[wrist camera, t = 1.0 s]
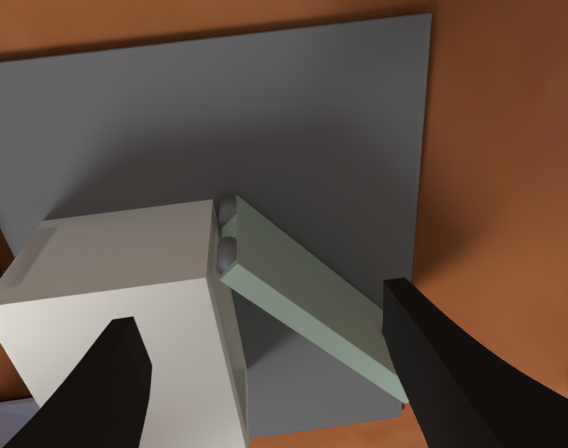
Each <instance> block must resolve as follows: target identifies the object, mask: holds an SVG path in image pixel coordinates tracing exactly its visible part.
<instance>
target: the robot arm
mask: <svg viewBox="0 0 568 448" xmlns="http://www.w3.org/2000/svg"><path fill="white" fill-rule="evenodd" d="M383 335H384V338H385V341H386V345H387V348H388V351H389V355H390V358H391V361H392V364H393V366H394V369H395V371H396V373H397V375H398V378H399V380H400V382H401V385H402V387H403V389H404V391H405V394H406V396H407V398H408V400H409V403H410V405H411V407H412V409H413V412H414V414H415V416H416V418H417V421H418V423H419V425H420V428H421V430H422V432H423V434H424V437H425V439H426V442H427V444H428V447H429V448H568V399H567V398H565V397H563V396H562V395H560V394H558V393H556V392H555V391H553V390H551V389H549V388H548V387H546V386H544V385H542V384H541V383H539V382H537V381H535V380H534V379H532V378H530V377H529V376H527V375H525V374H524V373H522V372H521V371H519V370H518V369H516V368H514V367H513V366H511V365H510V364H508V363H507V362H505V361H504V360H502V359H501V358H499V357H498V356H497V355H495V354H494V353H492V352H491V351H490V350H488V349H487V348H486V347H484V346H483V345H482V344H480V343H479V342H478V341H476V340H475V339H474V338H473V337H471V336H470V335H469V334H468V333H466V332H465V331H464V330H463V329H461V328H460V327H459V326H458V325H457V324H456V323H454V322H453V321H452V320H451V319H450V318H448V317H447V316H446V315H445V314H444V313H443V312H442V311H440V310H439V309H438V308H437V307H436V306H435V305H434V304H433V303H432V302H431V301H429V300H428V299H427V298H426V297H425V296H424V295H423V294H422V293H421V292H420V291H419V290H418V289H417V288H416V287H415V286H414V285H413V284H412V283H411V282H409V281H408V280H407V279H406V278H405V277H402V278H395V279H388V280H383ZM151 378H152V363H151V360H150V358H149V355H148V352H147V350H146V347H145V345H144V342H143V340H142V337H141V334H140V332H139V329H138V327H137V324H136V322H135V319H134V316H132V317H125V318H118V319H112V320H111V321H110V323H109V324H108V325H107V326H106V328H105V329H104V330H103V331H102V333H101V334H100V335H99V337H98V338H97V339H96V341H95V342H94V343H93V345H92V346H91V347H90V348H89V350H88V351H87V352H86V354H85V355H84V356H83V358H82V359H81V360H80V361H79V363H78V364H77V365H76V366H75V368H74V369H73V370H72V371H71V373H70V374H69V375H68V376H67V378H66V379H65V380H64V381H63V383H62V384H61V385H60V386H59V387H58V388H57V390H56V391H55V392H54V393H53V394H52V395H51V397H50V398H49V399H48V400H47V401H46V402H45V403H44V405H43V406H42V407H41V408H40V407H39V406H38V404H37V402H36V401H35V399H34V398H28V399H21V400H14V401H6V402H0V448H139V445H140V440H141V436H142V432H143V427H144V423H145V418H146V413H147V409H148V404H149V398H150V389H151Z"/></svg>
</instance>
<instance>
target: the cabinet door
mask: <svg viewBox="0 0 568 448" xmlns="http://www.w3.org/2000/svg"><path fill="white" fill-rule="evenodd" d="M219 223H220V225H221V226H222V237H221V240H220V241H219V242H218V246H217V263H216V269H217V271H218V273H219V274H220V281H221V282H223V283H224V284H226V285H227V286H229V287H230V288H232V289H233V290H235V291H236V292H238V293H239V294H241V295H242V296H244V297H245V298H247V299H248V300H250V301H251V302H253V303H254V304H256V305H257V306H259V307H260V308H262V309H263V310H265V311H266V312H268V313H269V314H271V315H272V316H274V317H275V318H277V319H278V320H280V321H281V322H283V323H284V324H286V325H287V326H289V327H290V328H292V329H293V330H295V331H296V332H298V333H299V334H301V335H302V336H304V337H305V338H307V339H308V340H310V341H311V342H313V343H314V344H316V345H317V346H319V347H320V348H322V349H323V350H325V351H326V352H328V353H329V354H331V355H332V356H334V357H335V358H337V359H338V360H340V361H341V362H343V363H344V364H346V365H347V366H349V367H350V368H352V369H353V370H355V371H356V372H358V373H359V374H361V375H362V376H364V377H365V378H367V379H368V380H370V381H371V382H373V383H374V384H376V385H377V386H379V387H380V388H382V389H383V390H385V391H386V392H388V393H389V394H391V395H392V396H394V397H395V398H397V399H398V400H400V401H401V402H403V403H404V404H406V403H408V402H409V400H408V398H407V396H406V394H405V391H404V389H403V387H402V385H401V382H400V380H399V378H398V375H397V373H396V371H395V369H394V366H393V364H392V361H391V358H390V355H389V351H388V348H387V345H386V341H385V338H384V335H383V310H382V309H381V308H379V307H378V306H377V305H376V304H374V303H373V302H372V301H370V300H369V299H368V298H367V297H365V296H364V295H363V294H362V293H360V292H359V291H358V290H357V289H355V288H354V287H353V286H352V285H350V284H349V283H348V282H346V281H345V280H344V279H343V278H341V277H340V276H339V275H338V274H336V273H335V272H334V271H333V270H331V269H330V268H329V267H327V266H326V265H325V264H324V263H322V262H321V261H320V260H319V259H317V258H316V257H315V256H314V255H312V254H311V253H310V252H308V251H307V250H306V249H305V248H303V247H302V246H301V245H300V244H298V243H297V242H296V241H295V240H293V239H292V238H291V237H289V236H288V235H287V234H286V233H284V232H283V231H282V230H281V229H279V228H278V227H277V226H276V225H274V224H273V223H272V222H271V221H269V220H268V219H267V218H265V217H264V216H263V215H262V214H260V213H259V212H258V211H257V210H255V209H254V208H253V207H252V206H250V205H249V204H248V203H246V202H245V201H244V200H243V199H241V198H240V197H239V196H238V195H236V196H235V197H231V196H229V197H225V198H223V199H222V200H221V202H220V212H219Z"/></svg>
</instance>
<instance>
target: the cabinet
mask: <svg viewBox="0 0 568 448" xmlns="http://www.w3.org/2000/svg"><path fill="white" fill-rule="evenodd" d="M220 240H221V238H220V233H219V228H218V223H217V218H216V213H215V208H214V203H213V199H211V200H203V201H195V202H187V203H179V204H171V205H163V206H156V207H148V208H140V209H132V210H124V211H116V212H108V213H100V214H92V215H84V216H76V217H68V218H61V219H53V220H45V221H42V222H41V223H40V225H39V226H38V227H37V229H36V230H35V231H34V233H33V234H32V236H31V237H30V238H29V240H28V241H27V242H26V244H25V245H24V247H23V248H22V249H21V251H20V252H19V254H18V255H17V256H16V258H15V259H14V260H13V262H12V263H11V265H10V266H9V267H8V269H7V270H6V271H5V273H4V274H3V276H2V277H1V278H0V343H1V345H2V346H3V348H4V350H5V351H6V353H7V355H8V356H9V358H10V360H11V361H12V363H13V364H14V366H15V368H16V369H17V371H18V373H19V374H20V376H21V378H22V379H23V381H24V383H25V384H26V386H27V388H28V389H29V391H30V393H31V394H32V396H33V397H34V399H35V401H36V402H37V404H38V406H39V407H40V408H41V407H42V406H43V405H44V403H45V402H46V401H47V400H48V399H49V398H50V397H51V395H52V394H53V393H54V392H55V391H56V390H57V388H58V387H59V386H60V385H61V384H62V383H63V381H64V380H65V379H66V378H67V376H68V375H69V374H70V373H71V371H72V370H73V369H74V368H75V366H76V365H77V364H78V363H79V361H80V360H81V359H82V358H83V356H84V355H85V354H86V352H87V351H88V350H89V348H90V347H91V346H92V345H93V343H94V342H95V341H96V339H97V338H98V337H99V335H100V334H101V333H102V331H103V330H104V329H105V328H106V326H107V325H108V324H109V323H110V321H111V320H112V319H118V318H125V317H132V316H134V319H135V322H136V324H137V327H138V329H139V332H140V334H141V337H142V340H143V342H144V345H145V347H146V350H147V352H148V355H149V358H150V360H151V363H152V378H151V389H150V398H149V404H148V409H147V413H146V418H145V423H144V427H143V432H142V436H141V440H140V445H139V448H249V420H248V387H247V367H246V362H245V358H244V353H243V348H242V343H241V338H240V333H239V328H238V323H237V318H236V313H235V308H234V303H233V298H232V293H231V288H230V287H229V286H227V285H226V284H224V283H223V282H221V281H220V274H219V273H218V271H217V269H216V263H217V246H218V242H219V241H220Z"/></svg>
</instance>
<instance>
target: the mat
mask: <svg viewBox="0 0 568 448" xmlns="http://www.w3.org/2000/svg"><path fill="white" fill-rule="evenodd" d="M431 20H432V14H431V13H420V14H412V15H403V16H394V17H385V18H377V19H368V20H359V21H350V22H341V23H333V24H324V25H315V26H306V27H298V28H289V29H280V30H271V31H263V32H254V33H245V34H236V35H227V36H219V37H210V38H201V39H192V40H184V41H175V42H166V43H157V44H148V45H140V46H131V47H122V48H113V49H105V50H96V51H87V52H78V53H70V54H61V55H52V56H43V57H34V58H26V59H17V60H8V61H0V229H1V231H2V233H3V235H4V237H5V239H6V241H7V243H8V245H9V247H10V249H11V251H12V253H13V255H14V257H15V258H16V256H17V255H18V254H19V252H20V251H21V249H22V248H23V247H24V245H25V244H26V242H27V241H28V240H29V238H30V237H31V236H32V234H33V233H34V231H35V230H36V229H37V227H38V226H39V225H40V223H41V222H42V221H45V220H53V219H61V218H68V217H76V216H84V215H92V214H100V213H108V212H116V211H124V210H132V209H140V208H148V207H156V206H163V205H171V204H179V203H187V202H195V201H203V200H211V199H213V203H214V208H215V213H216V218H217V223H218V228H219V233H220V238H221V237H222V226H221V225H220V223H219V212H220V202H221V200H222V199H223V198H225V197H229V196H231V197H235V196H236V195H238V196H239V197H240V198H241V199H243V200H244V201H245V202H246V203H248V204H249V205H250V206H252V207H253V208H254V209H255V210H257V211H258V212H259V213H260V214H262V215H263V216H264V217H265V218H267V219H268V220H269V221H271V222H272V223H273V224H274V225H276V226H277V227H278V228H279V229H281V230H282V231H283V232H284V233H286V234H287V235H288V236H289V237H291V238H292V239H293V240H295V241H296V242H297V243H298V244H300V245H301V246H302V247H303V248H305V249H306V250H307V251H308V252H310V253H311V254H312V255H314V256H315V257H316V258H317V259H319V260H320V261H321V262H322V263H324V264H325V265H326V266H327V267H329V268H330V269H331V270H333V271H334V272H335V273H336V274H338V275H339V276H340V277H341V278H343V279H344V280H345V281H346V282H348V283H349V284H350V285H352V286H353V287H354V288H355V289H357V290H358V291H359V292H360V293H362V294H363V295H364V296H365V297H367V298H368V299H369V300H370V301H372V302H373V303H374V304H376V305H377V306H378V307H379V308H381V309H382V310H383V280H388V279H395V278H402V277H405V278H406V279H407V280H408V281H409V282H411V281H412V268H413V255H414V242H415V229H416V216H417V203H418V190H419V177H420V163H421V150H422V137H423V124H424V111H425V98H426V85H427V72H428V59H429V46H430V33H431ZM231 293H232V298H233V303H234V308H235V313H236V318H237V323H238V328H239V333H240V338H241V343H242V348H243V353H244V358H245V362H246V367H247V387H248V420H249V439H253V438H260V437H267V436H274V435H281V434H288V433H294V432H301V431H308V430H315V429H322V428H329V427H336V426H343V425H350V424H357V423H363V422H370V421H377V420H384V419H391V418H398V417H401V411H402V402H401V401H400V400H398V399H397V398H395V397H394V396H392V395H391V394H389V393H388V392H386V391H385V390H383V389H382V388H380V387H379V386H377V385H376V384H374V383H373V382H371V381H370V380H368V379H367V378H365V377H364V376H362V375H361V374H359V373H358V372H356V371H355V370H353V369H352V368H350V367H349V366H347V365H346V364H344V363H343V362H341V361H340V360H338V359H337V358H335V357H334V356H332V355H331V354H329V353H328V352H326V351H325V350H323V349H322V348H320V347H319V346H317V345H316V344H314V343H313V342H311V341H310V340H308V339H307V338H305V337H304V336H302V335H301V334H299V333H298V332H296V331H295V330H293V329H292V328H290V327H289V326H287V325H286V324H284V323H283V322H281V321H280V320H278V319H277V318H275V317H274V316H272V315H271V314H269V313H268V312H266V311H265V310H263V309H262V308H260V307H259V306H257V305H256V304H254V303H253V302H251V301H250V300H248V299H247V298H245V297H244V296H242V295H241V294H239V293H238V292H236V291H235V290H233V289H232V288H231Z"/></svg>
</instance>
